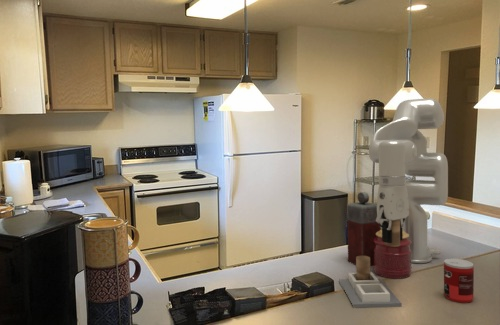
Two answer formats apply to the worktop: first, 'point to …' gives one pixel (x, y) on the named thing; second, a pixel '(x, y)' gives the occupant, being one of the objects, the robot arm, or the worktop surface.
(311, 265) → the worktop surface
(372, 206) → the red square jar
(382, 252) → the canister
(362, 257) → the fitted peg
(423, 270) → the worktop surface
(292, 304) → the worktop surface
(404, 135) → the robot arm
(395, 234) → the loose peg
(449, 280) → the canned food
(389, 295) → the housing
